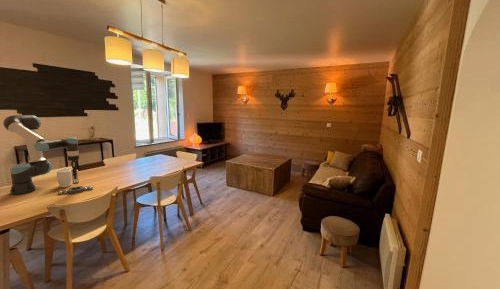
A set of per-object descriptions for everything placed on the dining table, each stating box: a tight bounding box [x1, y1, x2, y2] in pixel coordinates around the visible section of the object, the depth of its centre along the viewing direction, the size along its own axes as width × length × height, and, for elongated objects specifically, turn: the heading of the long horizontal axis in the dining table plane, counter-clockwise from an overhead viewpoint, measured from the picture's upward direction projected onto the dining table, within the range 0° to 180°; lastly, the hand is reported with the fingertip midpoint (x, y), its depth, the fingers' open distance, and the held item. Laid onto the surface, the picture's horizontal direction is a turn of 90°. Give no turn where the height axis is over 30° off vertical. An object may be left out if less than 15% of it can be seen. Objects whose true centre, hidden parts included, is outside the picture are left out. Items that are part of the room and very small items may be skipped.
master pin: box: [71, 169, 80, 185], centre depth 187 cm, size 5×5×12 cm
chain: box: [57, 185, 94, 195], centre depth 189 cm, size 10×24×3 cm, turn 129°
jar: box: [56, 168, 72, 188], centre depth 198 cm, size 11×10×15 cm
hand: (75, 181), depth 188 cm, fingers closed on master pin, 4 cm apart
